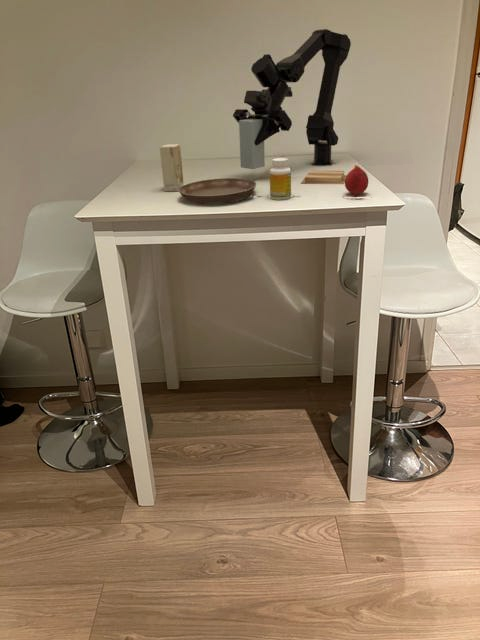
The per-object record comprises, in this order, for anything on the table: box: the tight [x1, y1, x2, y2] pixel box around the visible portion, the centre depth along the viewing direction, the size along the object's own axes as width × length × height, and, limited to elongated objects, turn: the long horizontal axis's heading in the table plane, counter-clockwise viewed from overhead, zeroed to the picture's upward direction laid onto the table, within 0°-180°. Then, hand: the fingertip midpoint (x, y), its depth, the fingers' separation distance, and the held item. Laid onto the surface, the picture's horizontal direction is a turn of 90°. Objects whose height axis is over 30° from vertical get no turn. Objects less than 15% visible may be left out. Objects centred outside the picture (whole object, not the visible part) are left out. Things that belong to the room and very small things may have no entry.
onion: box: [344, 164, 369, 198], centre depth 131 cm, size 6×6×8 cm
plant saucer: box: [178, 177, 257, 206], centre depth 139 cm, size 21×21×3 cm
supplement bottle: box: [269, 157, 292, 201], centre depth 133 cm, size 5×5×10 cm
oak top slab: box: [304, 170, 345, 183], centre depth 150 cm, size 10×10×2 cm
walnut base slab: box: [300, 174, 347, 185], centre depth 151 cm, size 12×12×2 cm
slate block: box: [238, 119, 266, 170], centre depth 151 cm, size 5×5×13 cm
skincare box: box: [159, 143, 185, 192], centre depth 149 cm, size 6×4×12 cm
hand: (248, 143), depth 150 cm, fingers closed on slate block, 5 cm apart
